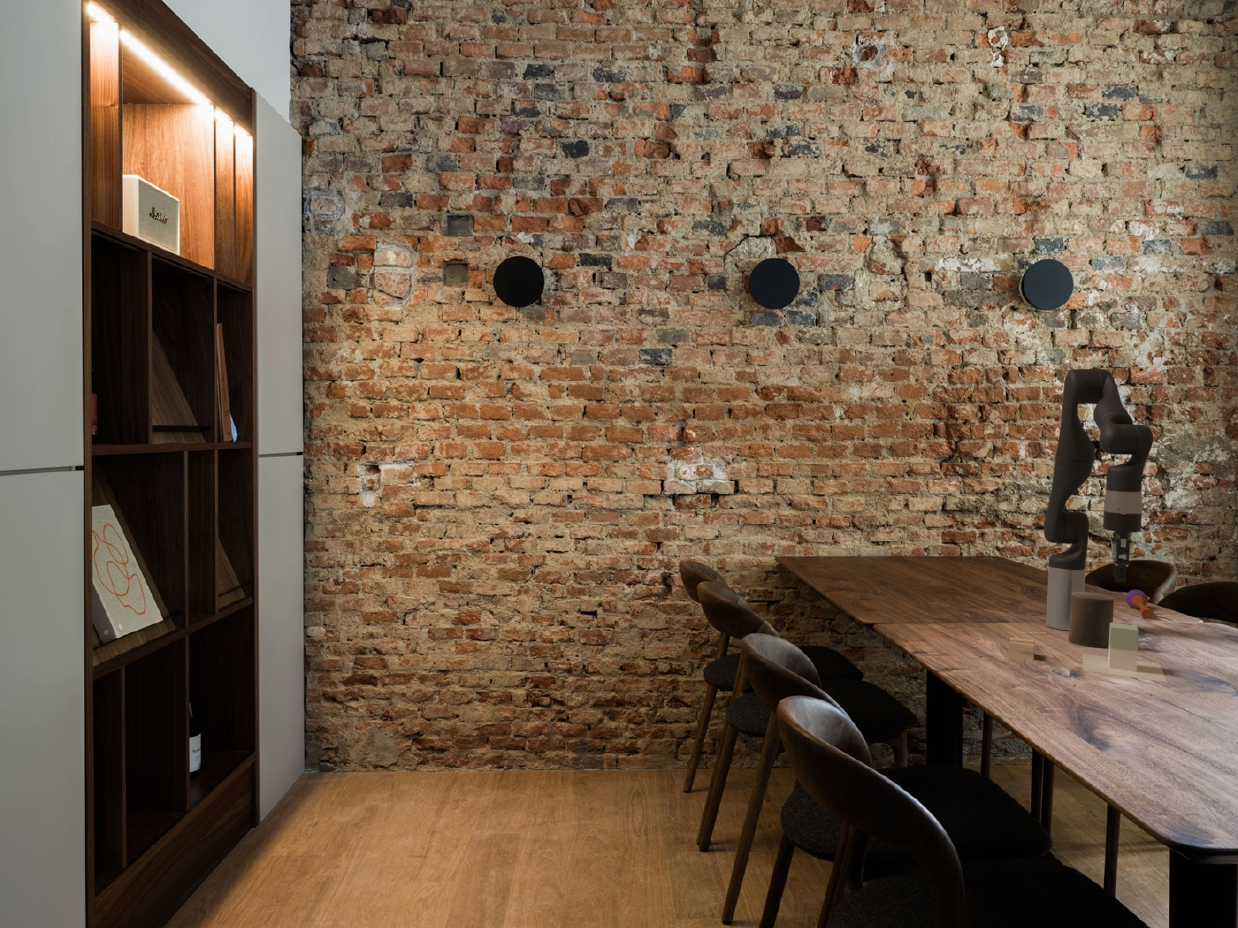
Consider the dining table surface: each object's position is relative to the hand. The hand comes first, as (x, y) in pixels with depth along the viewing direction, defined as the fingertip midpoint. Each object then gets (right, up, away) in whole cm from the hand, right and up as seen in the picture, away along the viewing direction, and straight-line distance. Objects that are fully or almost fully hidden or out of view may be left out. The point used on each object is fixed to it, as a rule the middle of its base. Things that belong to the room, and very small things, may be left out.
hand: (1119, 579), depth 189 cm
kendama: (+46, -20, +64) cm, 81 cm away
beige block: (+1, -21, 0) cm, 21 cm away
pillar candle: (+6, -21, +22) cm, 31 cm away
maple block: (-18, -21, +9) cm, 29 cm away
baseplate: (+1, -22, 0) cm, 22 cm away
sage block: (+1, -16, 0) cm, 16 cm away
